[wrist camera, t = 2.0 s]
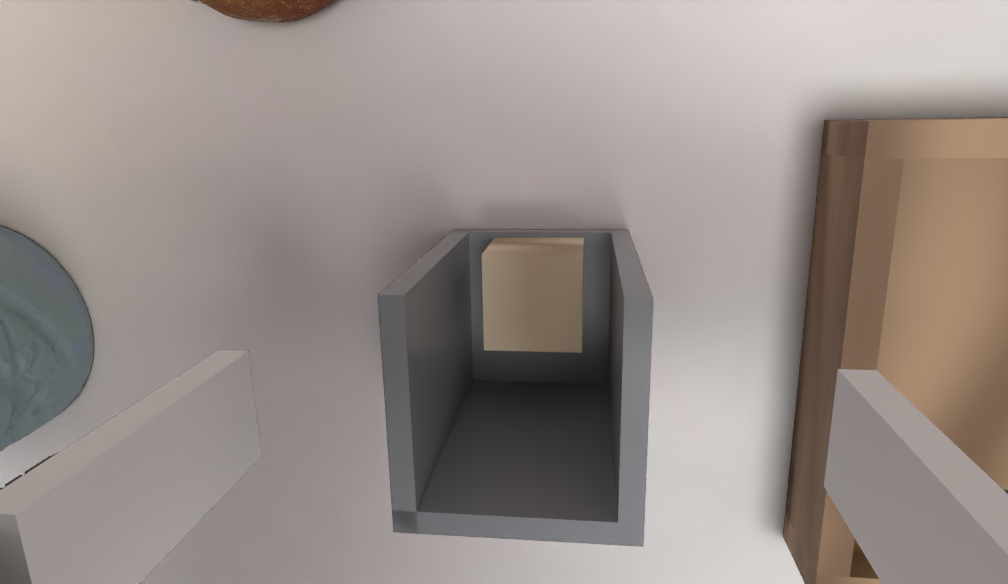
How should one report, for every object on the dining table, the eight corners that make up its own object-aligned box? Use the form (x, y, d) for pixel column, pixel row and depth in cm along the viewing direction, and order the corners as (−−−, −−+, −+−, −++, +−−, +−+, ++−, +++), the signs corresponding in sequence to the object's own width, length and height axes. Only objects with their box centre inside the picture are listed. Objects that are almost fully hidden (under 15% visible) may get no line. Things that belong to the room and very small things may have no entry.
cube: (496, 321, 24) (484, 350, 21) (495, 237, 23) (481, 254, 20) (582, 323, 23) (581, 352, 20) (583, 237, 22) (583, 255, 20)
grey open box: (460, 388, 25) (393, 532, 16) (454, 229, 24) (377, 294, 15) (623, 393, 24) (643, 546, 16) (628, 229, 23) (653, 298, 14)
